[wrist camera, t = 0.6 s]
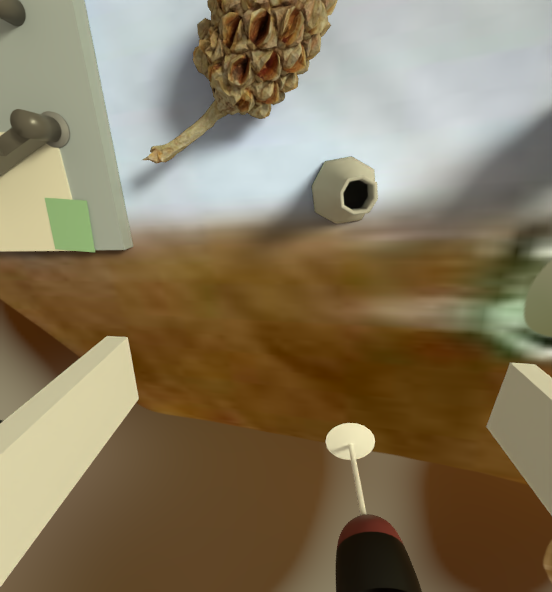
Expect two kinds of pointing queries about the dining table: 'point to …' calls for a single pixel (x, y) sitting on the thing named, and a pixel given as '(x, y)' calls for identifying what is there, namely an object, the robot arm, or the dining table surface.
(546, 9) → the dining table surface
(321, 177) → the flask
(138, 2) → the dining table surface
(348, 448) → the wineglass
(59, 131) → the gate
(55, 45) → the board
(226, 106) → the pine cone
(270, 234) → the dining table surface
